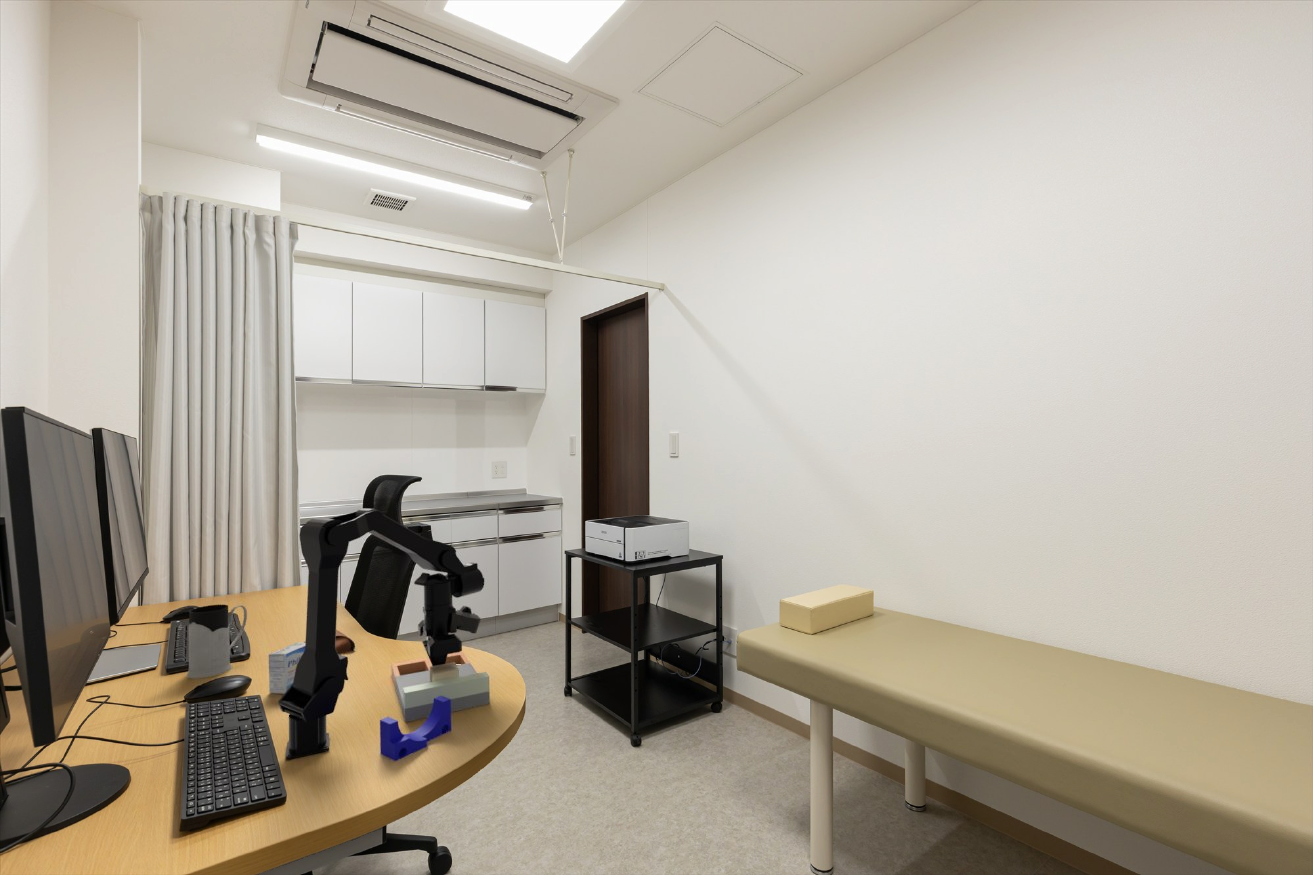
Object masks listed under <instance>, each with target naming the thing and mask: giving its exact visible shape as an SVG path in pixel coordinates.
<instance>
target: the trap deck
mask: <svg viewBox="0 0 1313 875" xmlns="http://www.w3.org/2000/svg"><path fill="white" fill-rule="evenodd" d="M453 662H455V664H461V665H456V666H457V667H458V669H459V677H456V678H451V679H446V680H440V681H435V682H430V667H431V666H432V664H431V661H430V659H429V657H425V658H418V659H417V658H416V659H413V660H407V661H402V662H395V663H394V662H393V663H391V667H390V668H391V671H390V672H391V677H392V681H393V685H394V688H395V691H396V695H397V699H398V702H399V706H400V709H401V713H402V716H403V719H404V720H403V721H404V723H406V722H407V723H408V722H413V721H417V720H420V719H425V718H426V719H427V718H428V717H429V715H430V713H431V711H432V708H433V703H434V698H436V697H438V696H444V697H447V698H449V699H451V713H452V712H457V711H462V710H466V709H471V708H476V707H480V706H485V705H490V704H491V701H490V700H491V696H490V694H491V693H490V675H489V673H487V671H483V672H482V671H481V672H477V671H476V669H475V668H474V666H473V665H472V664H471V662H470V661H469V659H468V657H467V656H466V655H465V653H464V651H461V652H457V653H452V654H448V655H447V659H446V663H445V664H447V663H453Z"/></svg>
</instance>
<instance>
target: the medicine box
mask: <svg viewBox="0 0 1313 875" xmlns="http://www.w3.org/2000/svg"><path fill="white" fill-rule="evenodd" d="M305 644H306V643H304V642H295V643H294V644H291V645H288V646H285V647H284V648H281V649H279V650H276V651H274V652H271V653H269V654H268V684H269V685H268V692H269V694H273V695H274V694H276V695H277V694H279V695H284V694H285V693H286V691H287V690H288V689H289V687H290V686H291V685H292V684H293V681H294V676H295V671H296V667H297V664H298V662H299V660H300V658H301V656H302V655H303V653H304V651H305Z"/></svg>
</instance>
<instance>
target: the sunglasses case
mask: <svg viewBox="0 0 1313 875" xmlns="http://www.w3.org/2000/svg"><path fill="white" fill-rule="evenodd" d="M303 643H306V640H305V641H303ZM355 649H356V644H355V642H354V641H353V639H352V638H350V637H348V636H347V635H345V634H344V633H343V632H341V631H340V630H338V629H336V650H337V653H338V654H339V655H341V654H344V653H348V652H353V651H354V650H355Z"/></svg>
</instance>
